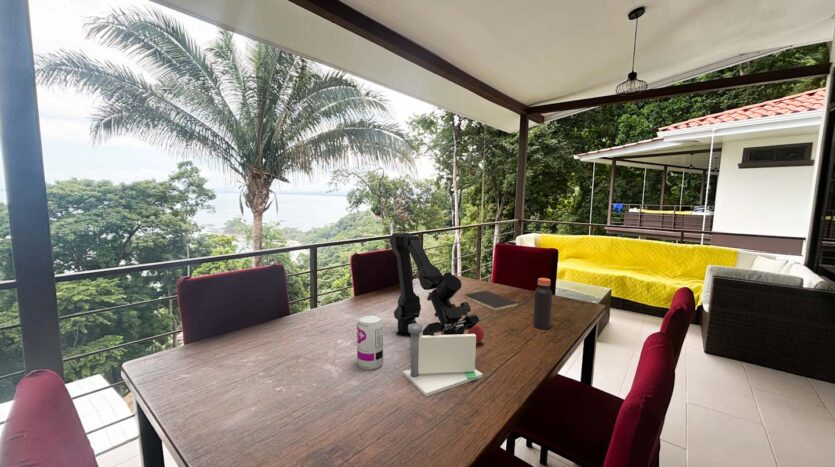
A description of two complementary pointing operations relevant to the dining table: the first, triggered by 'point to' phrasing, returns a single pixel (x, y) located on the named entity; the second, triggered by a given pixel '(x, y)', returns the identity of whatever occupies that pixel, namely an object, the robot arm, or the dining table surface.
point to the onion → (477, 332)
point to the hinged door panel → (441, 352)
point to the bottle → (542, 304)
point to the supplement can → (370, 342)
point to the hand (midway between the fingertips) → (462, 352)
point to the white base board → (440, 380)
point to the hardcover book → (491, 300)
